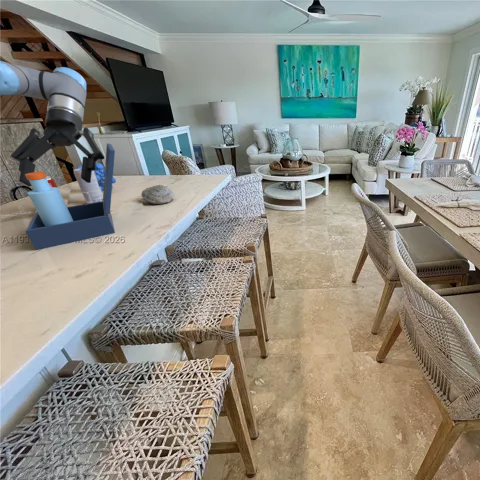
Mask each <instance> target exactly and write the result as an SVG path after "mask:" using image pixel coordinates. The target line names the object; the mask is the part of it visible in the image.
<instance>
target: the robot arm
mask: <svg viewBox="0 0 480 480" xmlns="http://www.w3.org/2000/svg"><path fill="white" fill-rule="evenodd" d="M87 93H88V92H87V82H86V79H85V78H84V77H83V76H82V75H81V74H80V73H79V72H77V71H76V70H74V69H72V68H69V67H67V66H66V67H65V66H61V67H56V68H55V69H54V70H53V71H52V72H49V71H44V70H39V69H35V68H31V67H28V66H27V67H26V66H23V65H19V64H16V63H10V62H8V61H4V60H0V96H21V97H29V98H33V99H40V100H45V101H48V103H47V108H46V114H45V120H44V122H45V127H46V128H45V129H44V130H37V129H36V128H34V127H33V128H31V129H30V130H29V135H27V136H26V138H25V139H24V140H23V141H22V142H21V144H20V145H19V146H17V148H16V149H15V150H14V151H13V152H12V153H11V155H10V157H11V158H13V159H14V160H16V161H17V162H18V171H19V172H20V174H19V182H21V183H22V184H24V185H25V186H28V187H32V185H31V183H30V181H29V180H27V178H26V176H25V174H28V173H33V172H35V169H36V164H35V162H36V161H38V159H40V158H41V157H42V156H44V155H45V154H46V153H47V152H48V151H50V150H54V149H55V148H57V147H59V148H60V147H71V146H73V145H74V146H75V147H77V148H78V149H79V151H81V152H82V153H83V154H84V155H85V156H82V162H81V166H82V170H81V178H82V179H83V180H84V181H86V182H87V183H91V174H92V171H94V170H95V165H96V163H97V161H98V160H101V161H102V160H105V155H104V153H103V152H102V151H101V149H100V147H99V146H98V144H97V141H96V140H95V135H94V133H93V132H92V130H90V128H88V127H84V128H83V122H84V116H85V106H86V100H87V95H88V94H87ZM82 137H83V138H84V139H85V140H86V142H87V143H88V145H89V147H90V148H91V150H92V152H93V153H91V152H90V151H89V150H88V149H87V148H86V147H85V146H84V145H83V144H82V143H80V142H79V139H81V138H82ZM48 141H49V142H48Z"/></svg>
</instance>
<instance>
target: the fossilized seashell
mask: <svg viewBox="0 0 480 480" xmlns="http://www.w3.org/2000/svg"><path fill="white" fill-rule="evenodd" d="M141 198H142V199H143V200H144V201H145V202H147V203H150V204H153V205H164V204H169V203H171V202H172V201H173V200H175V198H176V195H175V193H174V191H172V190H171V189H170V188H169V187H168V186H165V185H162V184H158V185H157V184H156V185H153V186H150V187H146V188H145V189H143V190H142V191H141Z"/></svg>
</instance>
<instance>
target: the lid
mask: <svg viewBox="0 0 480 480" xmlns="http://www.w3.org/2000/svg"><path fill="white" fill-rule="evenodd" d="M115 151H116V150H115V148H114V147H113V144H111V143H106V151H105V166H104V169H105V177H104V190H103V191H102V194H103V202H104V209H105V214H110V213H111V205H112V204H111V203H112V191H113V188H112V185H113V183H112V180H113V177H114V166H115V165H114V164H115V156H116V155H115V154H116V153H115Z"/></svg>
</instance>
